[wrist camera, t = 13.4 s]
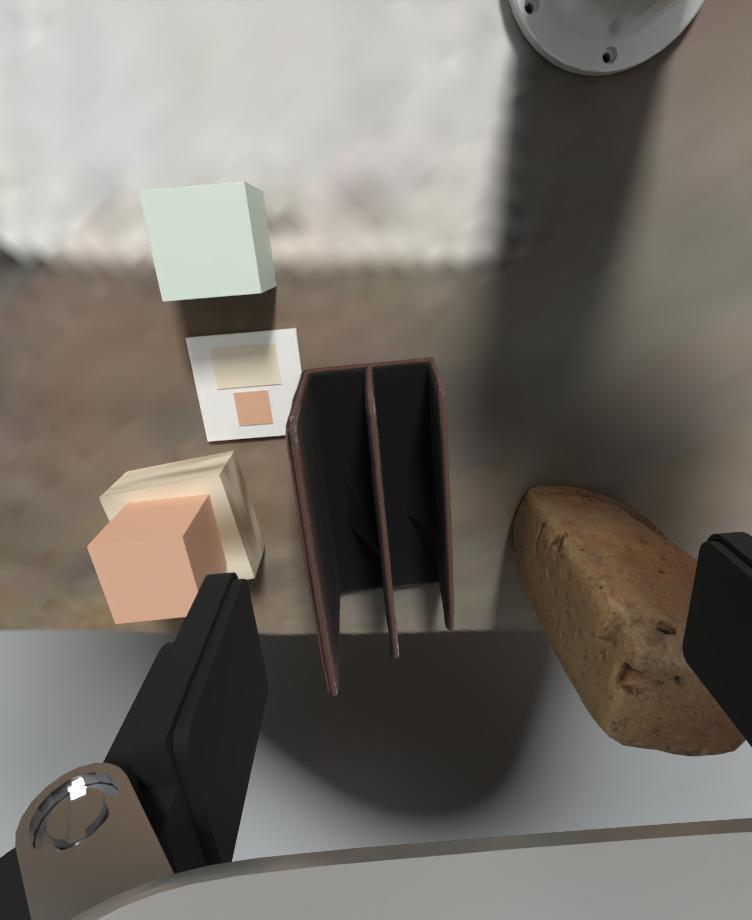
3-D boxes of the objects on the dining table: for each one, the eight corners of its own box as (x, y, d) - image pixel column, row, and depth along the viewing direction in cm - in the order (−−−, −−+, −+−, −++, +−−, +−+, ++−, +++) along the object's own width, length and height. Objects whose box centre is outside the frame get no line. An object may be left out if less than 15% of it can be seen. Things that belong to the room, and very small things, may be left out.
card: (187, 337, 38) (185, 338, 38) (296, 328, 38) (295, 329, 38) (209, 439, 41) (207, 441, 41) (310, 431, 41) (309, 433, 41)
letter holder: (333, 585, 47) (321, 716, 34) (301, 368, 40) (270, 428, 26) (444, 576, 47) (475, 703, 34) (433, 355, 39) (467, 410, 26)
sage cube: (173, 199, 35) (137, 190, 29) (263, 191, 35) (244, 181, 29) (192, 293, 37) (162, 301, 32) (276, 285, 37) (261, 293, 32)
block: (496, 549, 46) (586, 755, 27) (521, 471, 43) (640, 642, 24) (613, 566, 47) (777, 777, 28) (644, 492, 44) (849, 672, 25)
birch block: (127, 470, 42) (99, 497, 38) (235, 449, 42) (219, 474, 37) (166, 562, 46) (144, 598, 41) (265, 544, 45) (254, 578, 41)
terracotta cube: (127, 502, 38) (86, 546, 32) (209, 494, 38) (182, 536, 32) (149, 571, 40) (115, 623, 35) (226, 563, 40) (204, 615, 35)
